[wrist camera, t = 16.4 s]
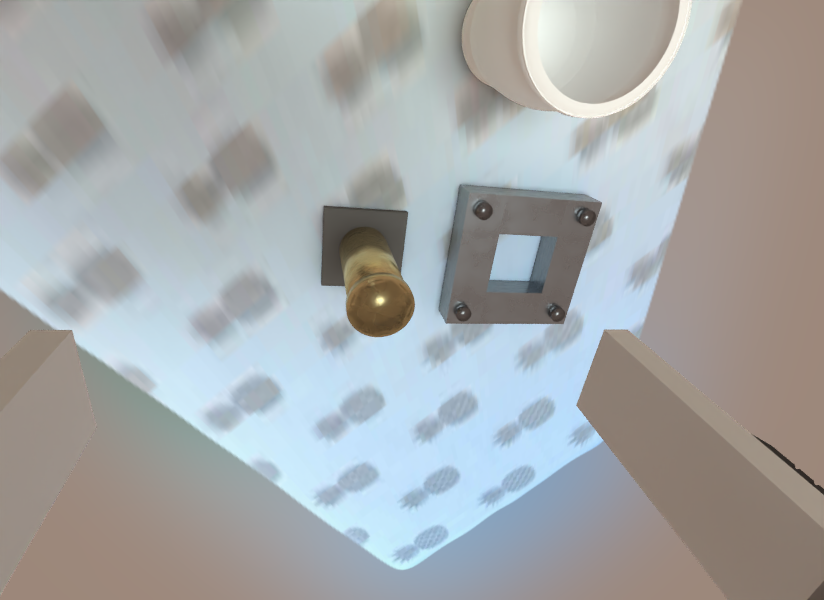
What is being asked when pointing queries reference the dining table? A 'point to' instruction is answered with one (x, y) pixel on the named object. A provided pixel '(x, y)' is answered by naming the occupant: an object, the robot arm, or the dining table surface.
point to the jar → (573, 50)
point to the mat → (348, 219)
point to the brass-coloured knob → (374, 284)
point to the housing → (554, 266)
